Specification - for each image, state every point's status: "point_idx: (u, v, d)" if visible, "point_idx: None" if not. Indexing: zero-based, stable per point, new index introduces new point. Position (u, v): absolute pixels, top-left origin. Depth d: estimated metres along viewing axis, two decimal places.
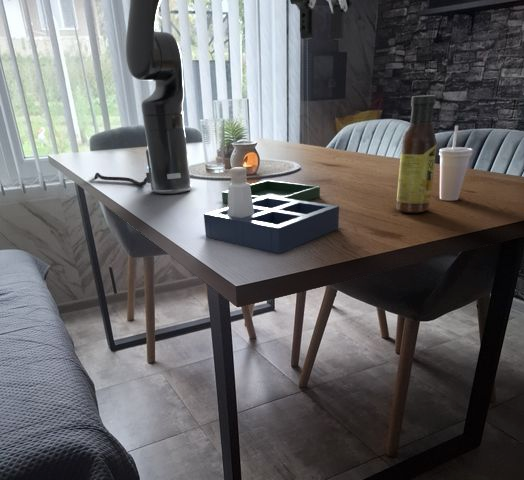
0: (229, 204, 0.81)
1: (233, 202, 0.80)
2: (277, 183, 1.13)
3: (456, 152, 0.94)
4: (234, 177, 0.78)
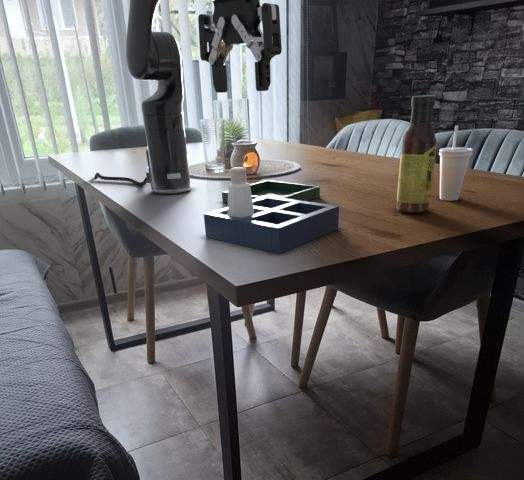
0: (229, 204, 0.81)
1: (233, 202, 0.80)
2: (277, 183, 1.13)
3: (456, 152, 0.94)
4: (234, 177, 0.78)
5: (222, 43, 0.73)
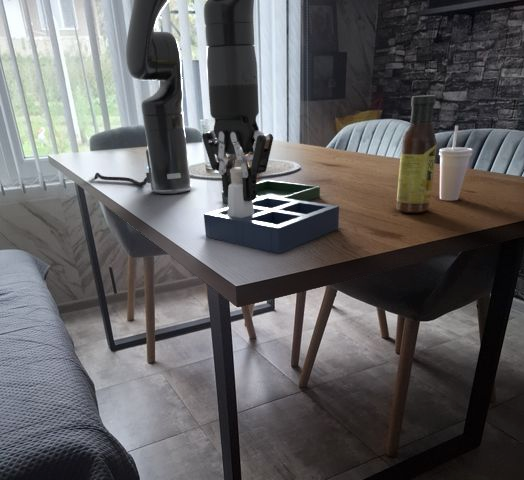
0: (229, 204, 0.81)
1: (233, 202, 0.80)
2: (277, 183, 1.13)
3: (456, 152, 0.94)
4: (234, 177, 0.78)
5: (228, 154, 0.79)
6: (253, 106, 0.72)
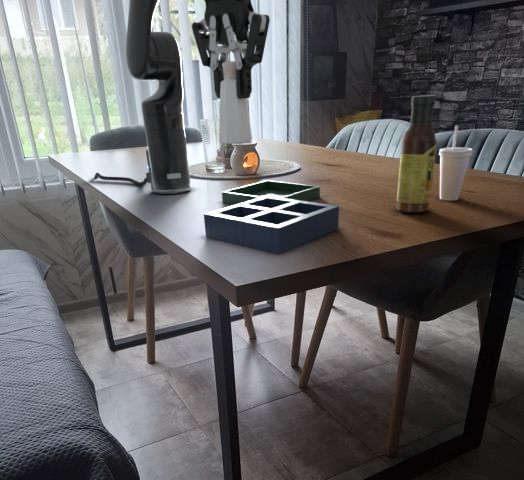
0: (221, 104, 0.73)
1: (225, 100, 0.73)
2: (277, 183, 1.13)
3: (456, 152, 0.94)
4: (227, 71, 0.71)
5: (220, 46, 0.72)
6: None
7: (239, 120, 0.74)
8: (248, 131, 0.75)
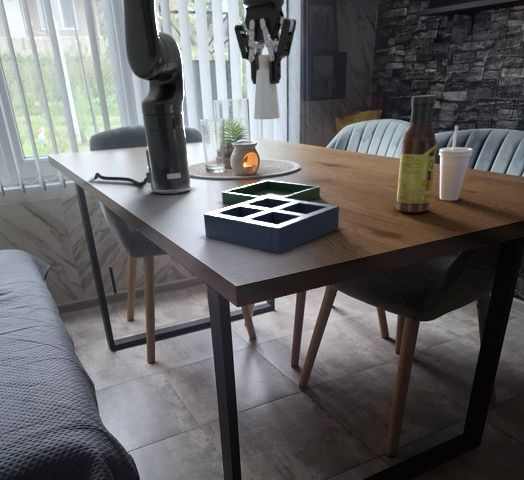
0: (257, 88, 0.95)
1: (260, 84, 0.94)
2: (277, 183, 1.13)
3: (456, 152, 0.94)
4: (262, 62, 0.92)
5: (256, 43, 0.93)
6: None
7: (270, 101, 0.95)
8: (277, 109, 0.96)
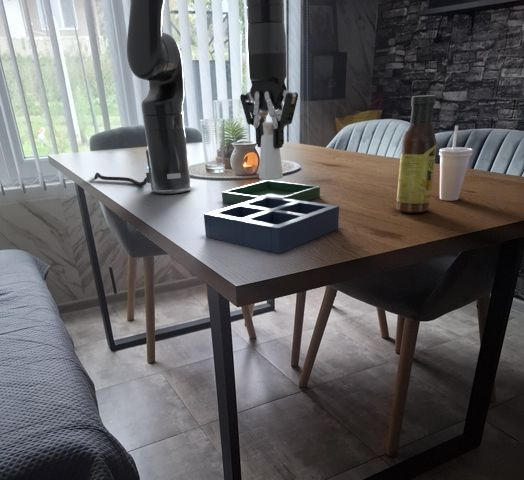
0: (261, 151, 1.01)
1: (265, 149, 1.01)
2: (277, 183, 1.13)
3: (456, 152, 0.94)
4: (266, 129, 0.99)
5: (261, 111, 1.00)
6: (283, 70, 0.93)
7: (274, 163, 1.02)
8: (280, 170, 1.03)
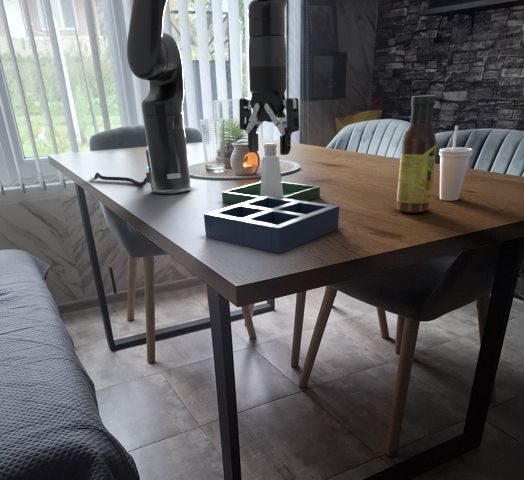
0: (262, 172, 1.04)
1: (265, 170, 1.03)
2: None
3: (456, 152, 0.94)
4: (267, 150, 1.01)
5: (256, 118, 1.01)
6: (283, 83, 0.94)
7: (275, 184, 1.04)
8: (281, 190, 1.05)
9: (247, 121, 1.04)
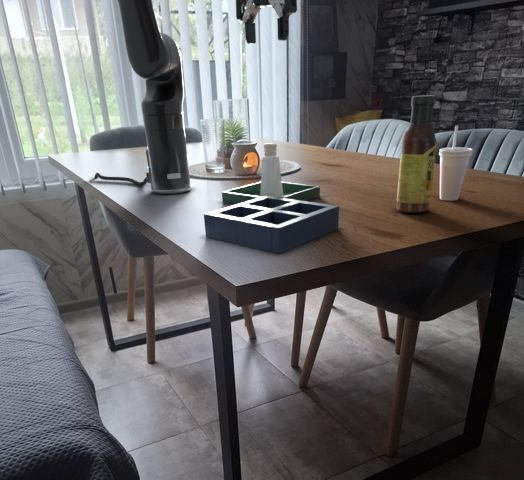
0: (262, 172, 1.04)
1: (265, 170, 1.03)
2: None
3: (456, 152, 0.94)
4: (267, 150, 1.01)
5: (253, 6, 0.99)
6: None
7: (275, 184, 1.04)
8: (281, 190, 1.05)
9: (244, 11, 1.02)
